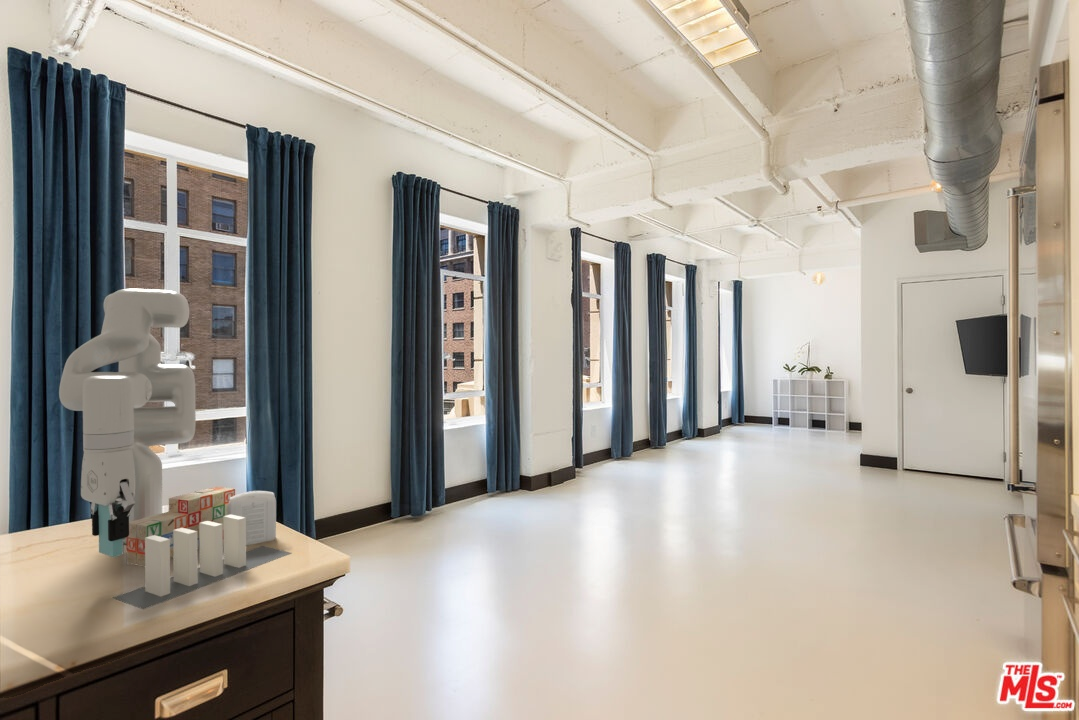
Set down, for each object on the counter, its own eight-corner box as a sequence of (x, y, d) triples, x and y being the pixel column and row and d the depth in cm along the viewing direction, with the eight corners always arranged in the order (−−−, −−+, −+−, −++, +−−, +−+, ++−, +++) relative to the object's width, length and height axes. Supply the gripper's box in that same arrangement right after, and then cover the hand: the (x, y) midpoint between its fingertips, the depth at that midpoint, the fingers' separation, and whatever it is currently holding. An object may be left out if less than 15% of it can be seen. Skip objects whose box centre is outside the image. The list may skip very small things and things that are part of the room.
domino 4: (199, 572, 110) (199, 522, 110) (207, 569, 112) (207, 520, 112) (215, 576, 108) (214, 526, 108) (222, 573, 109) (222, 524, 109)
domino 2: (145, 591, 101) (144, 537, 101) (154, 587, 103) (154, 535, 103) (160, 596, 99) (160, 541, 99) (170, 593, 101) (169, 539, 100)
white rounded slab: (274, 537, 133) (274, 486, 133) (277, 542, 130) (277, 490, 130) (226, 545, 128) (226, 492, 128) (227, 550, 124) (227, 496, 124)
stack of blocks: (146, 570, 113) (145, 511, 113) (126, 566, 115) (125, 508, 115) (236, 537, 133) (235, 487, 133) (217, 535, 135) (217, 485, 135)
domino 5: (223, 563, 115) (223, 516, 115) (230, 561, 116) (230, 514, 116) (238, 567, 112) (238, 519, 112) (246, 565, 114) (245, 517, 114)
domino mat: (112, 600, 99) (112, 597, 99) (262, 548, 126) (262, 545, 126) (143, 612, 94) (143, 609, 94) (292, 555, 121) (292, 552, 121)
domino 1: (99, 552, 104) (98, 500, 104) (108, 549, 105) (107, 498, 105) (113, 557, 102) (112, 504, 101) (122, 554, 103) (122, 502, 103)
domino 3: (173, 581, 106) (173, 529, 106) (182, 578, 107) (181, 527, 107) (189, 586, 104) (188, 533, 103) (197, 583, 105) (197, 531, 105)
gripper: (62, 439, 103) (64, 534, 104) (110, 449, 96) (111, 551, 96) (108, 433, 110) (109, 522, 111) (156, 442, 102) (157, 538, 103)
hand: (110, 535), depth 103 cm, fingers closed on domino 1, 4 cm apart
